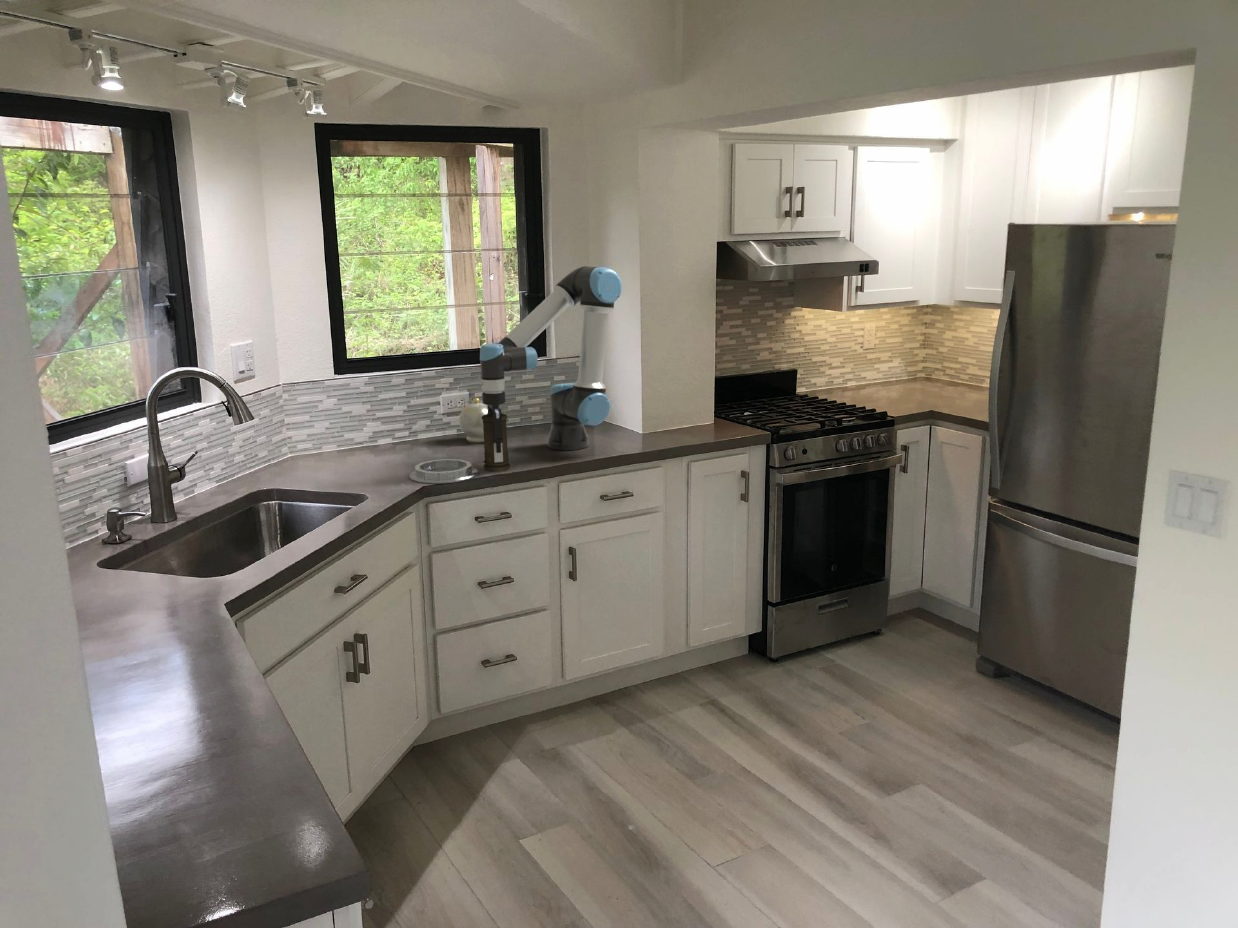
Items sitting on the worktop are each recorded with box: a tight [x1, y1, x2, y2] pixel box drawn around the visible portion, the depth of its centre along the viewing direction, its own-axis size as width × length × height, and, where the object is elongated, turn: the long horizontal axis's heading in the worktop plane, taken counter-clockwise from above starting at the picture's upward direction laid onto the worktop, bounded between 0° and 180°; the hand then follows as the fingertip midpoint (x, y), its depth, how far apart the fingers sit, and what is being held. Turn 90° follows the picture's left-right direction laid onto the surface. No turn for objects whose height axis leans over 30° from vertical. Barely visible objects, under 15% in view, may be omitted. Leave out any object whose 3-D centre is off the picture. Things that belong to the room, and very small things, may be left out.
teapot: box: [458, 397, 488, 444], centre depth 362 cm, size 18×14×16 cm
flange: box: [409, 458, 479, 485], centre depth 316 cm, size 22×22×3 cm
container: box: [482, 413, 511, 472], centre depth 322 cm, size 9×9×18 cm
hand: (496, 458), depth 323 cm, fingers closed on container, 8 cm apart
